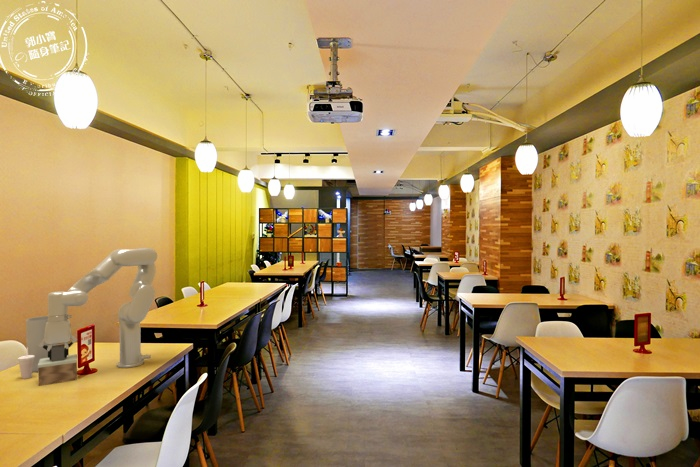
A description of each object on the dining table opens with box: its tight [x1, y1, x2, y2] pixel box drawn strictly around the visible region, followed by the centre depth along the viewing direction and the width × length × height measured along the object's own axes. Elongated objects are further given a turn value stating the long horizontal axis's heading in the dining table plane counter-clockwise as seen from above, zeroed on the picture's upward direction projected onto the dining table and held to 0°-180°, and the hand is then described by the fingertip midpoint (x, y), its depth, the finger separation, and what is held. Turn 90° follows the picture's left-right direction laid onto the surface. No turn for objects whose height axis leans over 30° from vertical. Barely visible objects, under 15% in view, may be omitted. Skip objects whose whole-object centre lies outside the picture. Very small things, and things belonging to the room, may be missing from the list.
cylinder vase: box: [25, 315, 58, 373], centre depth 214 cm, size 12×12×25 cm
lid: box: [38, 343, 78, 368], centre depth 198 cm, size 14×11×8 cm
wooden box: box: [38, 362, 78, 386], centre depth 198 cm, size 14×11×8 cm
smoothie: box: [17, 346, 35, 380], centre depth 201 cm, size 6×6×14 cm
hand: (58, 357), depth 198 cm, fingers open, 5 cm apart
